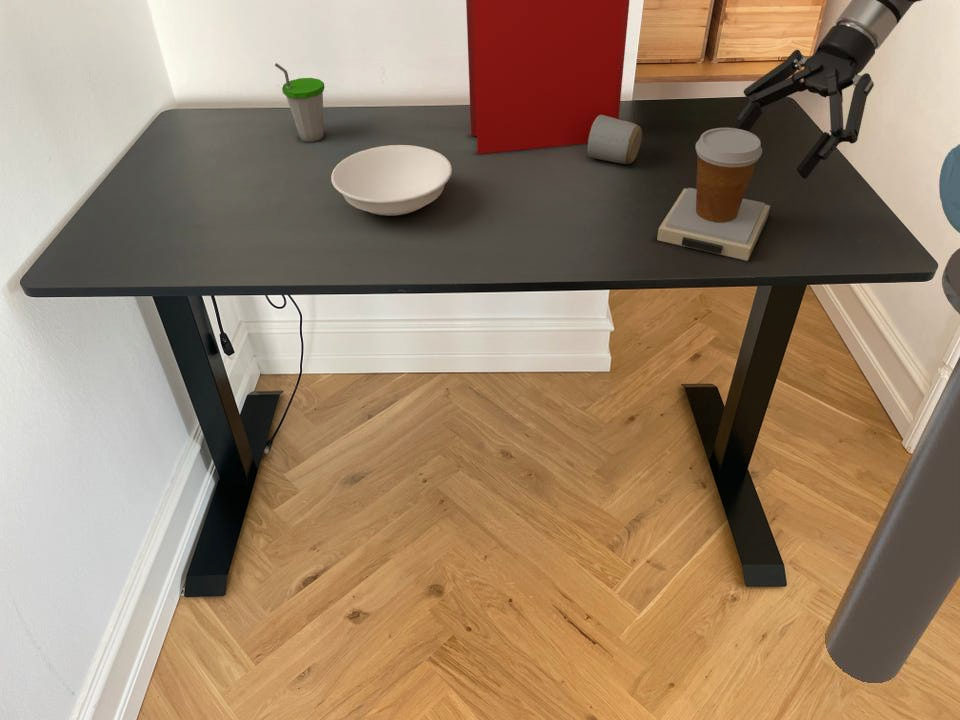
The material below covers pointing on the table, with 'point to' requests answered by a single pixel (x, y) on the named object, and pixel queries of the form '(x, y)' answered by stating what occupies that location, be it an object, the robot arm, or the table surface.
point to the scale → (714, 227)
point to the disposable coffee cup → (724, 171)
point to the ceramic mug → (614, 140)
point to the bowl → (392, 178)
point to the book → (543, 70)
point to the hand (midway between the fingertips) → (765, 157)
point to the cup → (305, 105)
